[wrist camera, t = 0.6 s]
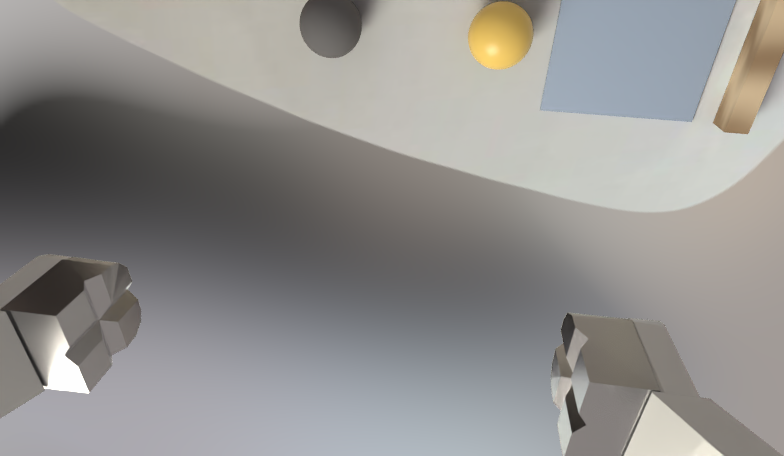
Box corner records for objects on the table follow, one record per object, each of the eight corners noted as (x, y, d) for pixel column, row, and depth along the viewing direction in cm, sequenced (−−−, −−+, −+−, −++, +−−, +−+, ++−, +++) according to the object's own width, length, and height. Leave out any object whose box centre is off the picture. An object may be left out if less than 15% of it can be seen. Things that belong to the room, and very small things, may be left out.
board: (572, -56, 41) (572, -56, 41) (752, -48, 40) (753, -48, 40) (540, 109, 48) (540, 110, 48) (690, 121, 47) (691, 121, 47)
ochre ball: (472, -5, 44) (472, 3, 39) (535, -1, 44) (542, 8, 39) (465, 59, 47) (464, 74, 42) (524, 63, 46) (529, 78, 42)
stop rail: (778, -47, 39) (796, -45, 37) (805, -46, 39) (824, -44, 37) (713, 122, 47) (724, 132, 45) (735, 124, 47) (748, 133, 44)
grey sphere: (308, -14, 46) (289, -7, 41) (366, -11, 45) (354, -3, 40) (311, 49, 48) (293, 62, 44) (366, 52, 48) (354, 66, 43)
